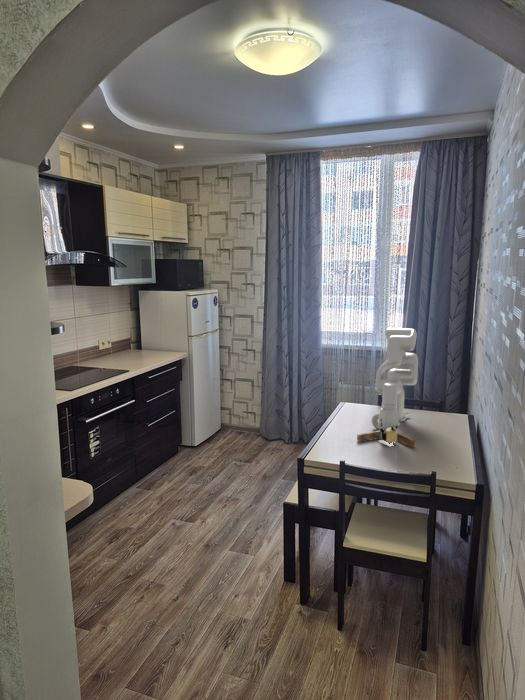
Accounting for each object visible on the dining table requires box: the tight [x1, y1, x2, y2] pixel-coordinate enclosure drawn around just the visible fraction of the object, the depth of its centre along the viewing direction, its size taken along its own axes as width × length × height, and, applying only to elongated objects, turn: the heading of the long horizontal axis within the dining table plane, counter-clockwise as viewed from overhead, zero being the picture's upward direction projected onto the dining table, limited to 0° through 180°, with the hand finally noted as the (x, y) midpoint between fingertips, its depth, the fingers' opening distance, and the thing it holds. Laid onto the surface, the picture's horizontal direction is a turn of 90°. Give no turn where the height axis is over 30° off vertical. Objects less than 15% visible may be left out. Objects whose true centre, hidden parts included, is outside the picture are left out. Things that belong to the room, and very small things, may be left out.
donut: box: [371, 412, 382, 430], centre depth 267 cm, size 10×4×10 cm, turn 63°
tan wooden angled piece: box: [356, 429, 416, 449], centre depth 245 cm, size 22×20×4 cm
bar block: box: [380, 427, 398, 443], centre depth 246 cm, size 8×5×5 cm, turn 24°
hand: (388, 438), depth 246 cm, fingers closed on bar block, 4 cm apart
